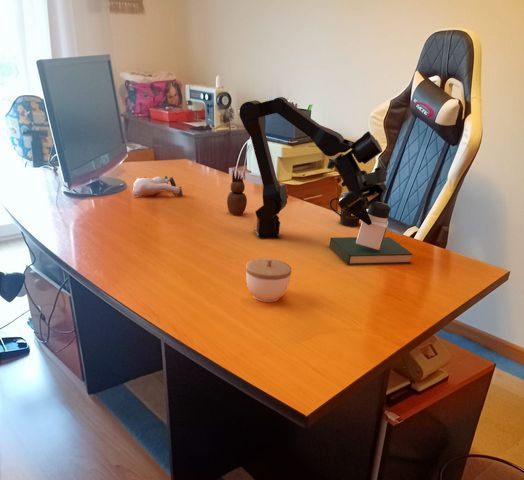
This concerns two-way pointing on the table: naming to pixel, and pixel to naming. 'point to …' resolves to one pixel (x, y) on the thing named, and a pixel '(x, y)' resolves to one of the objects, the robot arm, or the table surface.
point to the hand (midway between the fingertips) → (377, 221)
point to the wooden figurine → (236, 196)
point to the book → (369, 252)
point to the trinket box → (267, 278)
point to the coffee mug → (346, 215)
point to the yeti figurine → (155, 186)
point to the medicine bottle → (374, 226)
